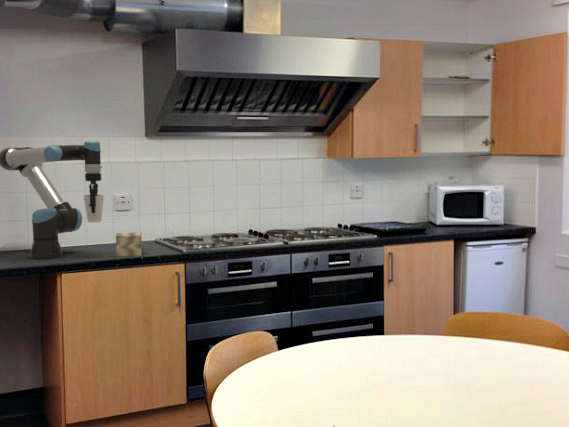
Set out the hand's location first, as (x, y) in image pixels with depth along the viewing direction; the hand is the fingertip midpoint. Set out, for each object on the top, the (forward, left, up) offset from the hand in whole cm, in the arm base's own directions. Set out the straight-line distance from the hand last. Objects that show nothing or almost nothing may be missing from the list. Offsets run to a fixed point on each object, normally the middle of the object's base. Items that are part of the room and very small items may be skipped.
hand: (94, 218), depth 358 cm
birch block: (+16, +1, -19) cm, 25 cm away
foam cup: (0, 0, -2) cm, 2 cm away
